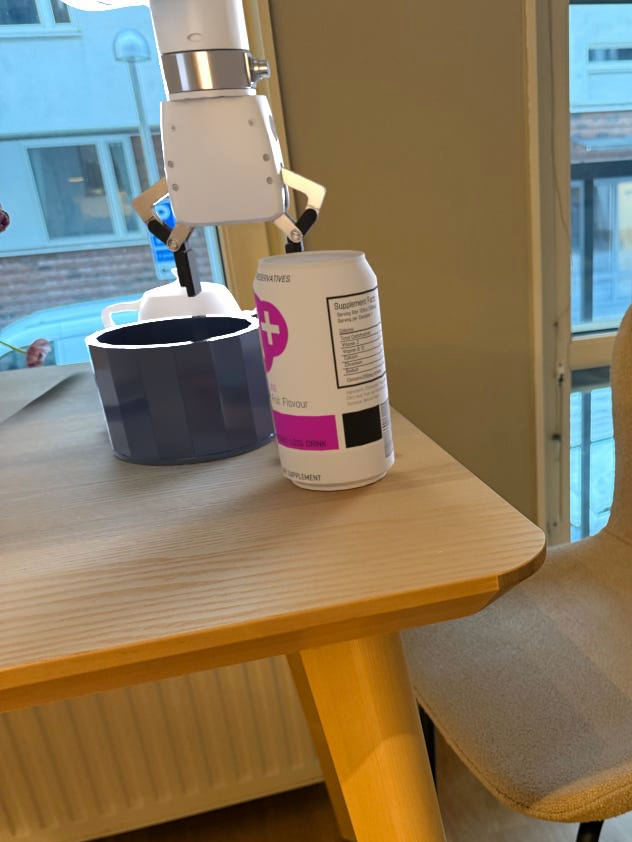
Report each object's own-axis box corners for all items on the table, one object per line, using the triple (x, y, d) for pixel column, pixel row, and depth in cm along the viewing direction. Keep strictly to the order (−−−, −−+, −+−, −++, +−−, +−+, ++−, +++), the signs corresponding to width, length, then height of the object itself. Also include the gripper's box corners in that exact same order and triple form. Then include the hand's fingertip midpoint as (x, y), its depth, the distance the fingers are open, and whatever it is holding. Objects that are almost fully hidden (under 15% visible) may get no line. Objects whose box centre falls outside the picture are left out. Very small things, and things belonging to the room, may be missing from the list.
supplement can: (289, 500, 64) (252, 268, 57) (279, 465, 71) (246, 255, 64) (404, 484, 66) (383, 257, 59) (383, 452, 73) (362, 246, 66)
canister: (91, 470, 72) (60, 352, 68) (138, 423, 84) (114, 320, 80) (265, 459, 73) (246, 341, 68) (287, 413, 85) (272, 310, 80)
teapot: (288, 342, 115) (275, 255, 110) (290, 363, 104) (276, 266, 99) (120, 358, 112) (100, 268, 107) (106, 380, 101) (82, 281, 96)
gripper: (314, 74, 82) (340, 278, 91) (120, 88, 82) (164, 291, 91) (305, 70, 76) (334, 290, 84) (93, 85, 76) (144, 304, 84)
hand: (246, 291), depth 87 cm, fingers open, 9 cm apart
